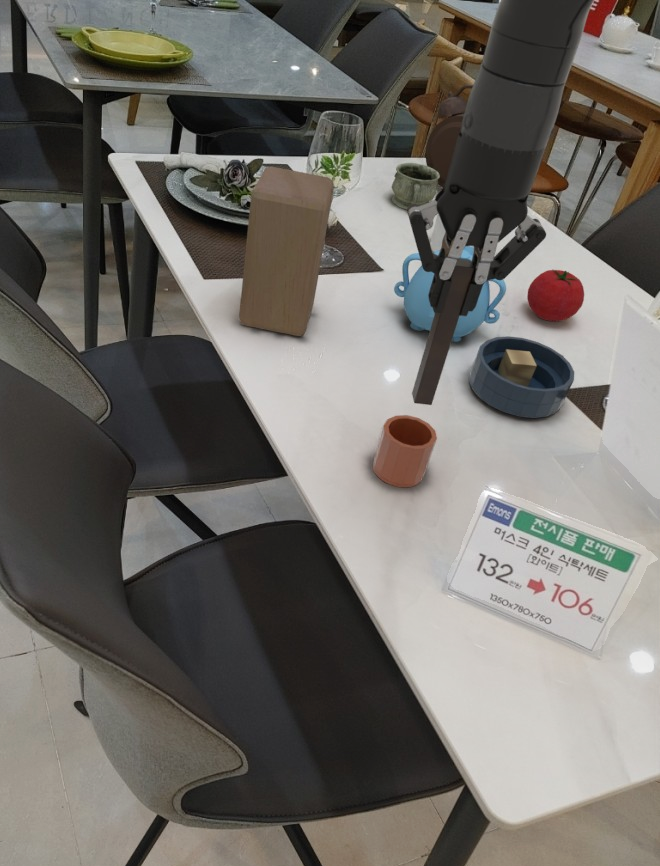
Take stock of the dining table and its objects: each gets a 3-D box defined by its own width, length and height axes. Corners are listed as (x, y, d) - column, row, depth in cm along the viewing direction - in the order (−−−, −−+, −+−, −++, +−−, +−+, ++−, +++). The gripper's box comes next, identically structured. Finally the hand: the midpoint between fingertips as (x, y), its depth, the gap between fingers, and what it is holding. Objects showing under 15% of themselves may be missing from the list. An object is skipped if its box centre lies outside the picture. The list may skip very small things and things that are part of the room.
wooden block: (313, 307, 119) (336, 176, 105) (303, 340, 111) (327, 204, 98) (250, 294, 119) (264, 162, 105) (236, 326, 112) (250, 189, 98)
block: (521, 372, 111) (530, 351, 109) (527, 387, 109) (536, 365, 106) (497, 370, 111) (505, 349, 108) (503, 384, 108) (512, 363, 106)
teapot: (480, 368, 112) (507, 295, 104) (372, 335, 115) (390, 261, 107) (501, 309, 126) (527, 240, 117) (405, 281, 129) (423, 212, 120)
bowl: (547, 371, 114) (559, 341, 110) (571, 425, 104) (586, 395, 101) (460, 361, 113) (471, 331, 109) (477, 416, 103) (489, 385, 100)
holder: (419, 455, 95) (432, 417, 91) (426, 490, 91) (440, 451, 87) (370, 451, 95) (381, 412, 91) (375, 485, 90) (386, 446, 86)
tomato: (572, 335, 122) (593, 290, 117) (518, 320, 124) (536, 275, 118) (574, 311, 129) (594, 266, 123) (523, 297, 130) (540, 252, 124)
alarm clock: (490, 200, 160) (523, 95, 146) (473, 208, 155) (506, 101, 141) (431, 176, 165) (458, 73, 152) (413, 183, 161) (439, 78, 147)
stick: (428, 395, 86) (470, 259, 75) (431, 405, 85) (474, 268, 74) (411, 393, 86) (450, 256, 75) (414, 403, 84) (454, 265, 74)
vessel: (389, 188, 157) (396, 156, 153) (431, 195, 157) (439, 164, 153) (388, 211, 149) (395, 178, 144) (433, 219, 149) (442, 186, 144)
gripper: (570, 126, 69) (506, 300, 81) (420, 106, 68) (378, 285, 80) (594, 157, 64) (522, 338, 76) (433, 135, 63) (385, 322, 75)
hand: (448, 310), depth 78 cm, fingers closed on stick, 2 cm apart
